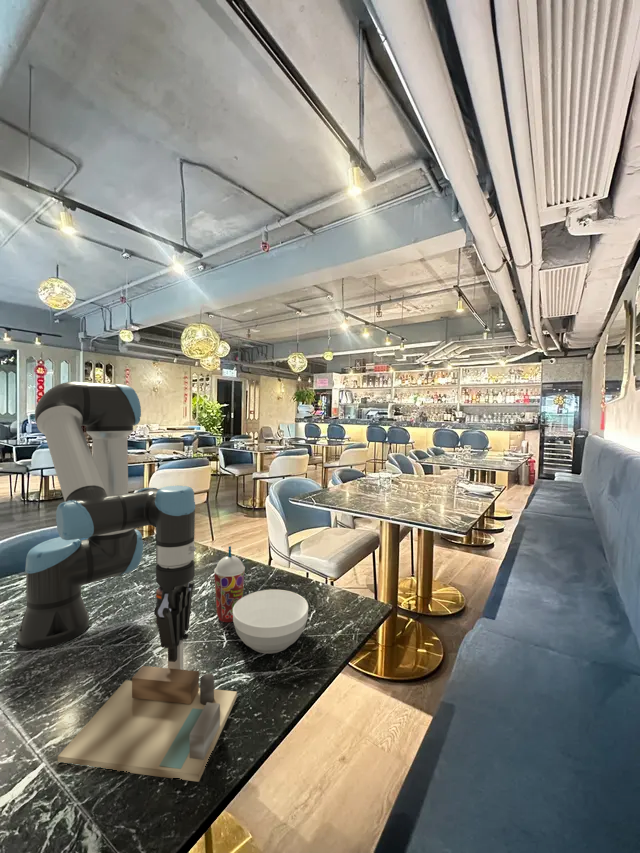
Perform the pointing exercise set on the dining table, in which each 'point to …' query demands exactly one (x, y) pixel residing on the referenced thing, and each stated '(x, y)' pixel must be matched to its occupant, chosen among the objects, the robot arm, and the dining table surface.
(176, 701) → the leg
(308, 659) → the dining table surface
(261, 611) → the bowl
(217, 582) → the smoothie
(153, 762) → the board
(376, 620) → the dining table surface
